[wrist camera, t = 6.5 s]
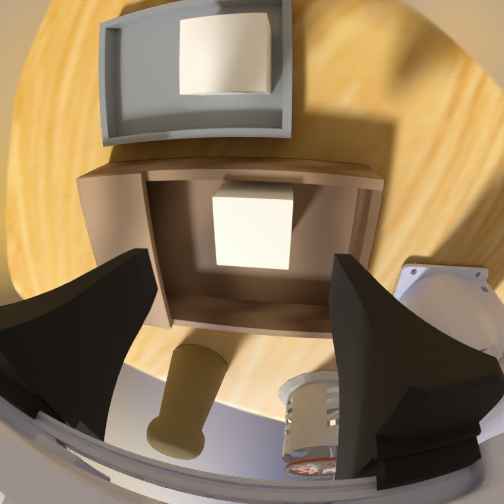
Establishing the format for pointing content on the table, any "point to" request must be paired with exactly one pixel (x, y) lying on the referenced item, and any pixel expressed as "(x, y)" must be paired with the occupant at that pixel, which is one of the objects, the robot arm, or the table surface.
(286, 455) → the french press
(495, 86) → the table surface
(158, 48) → the slate dish
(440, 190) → the table surface
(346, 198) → the walnut box
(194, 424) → the cork
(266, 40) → the cube
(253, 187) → the cube
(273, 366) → the table surface
